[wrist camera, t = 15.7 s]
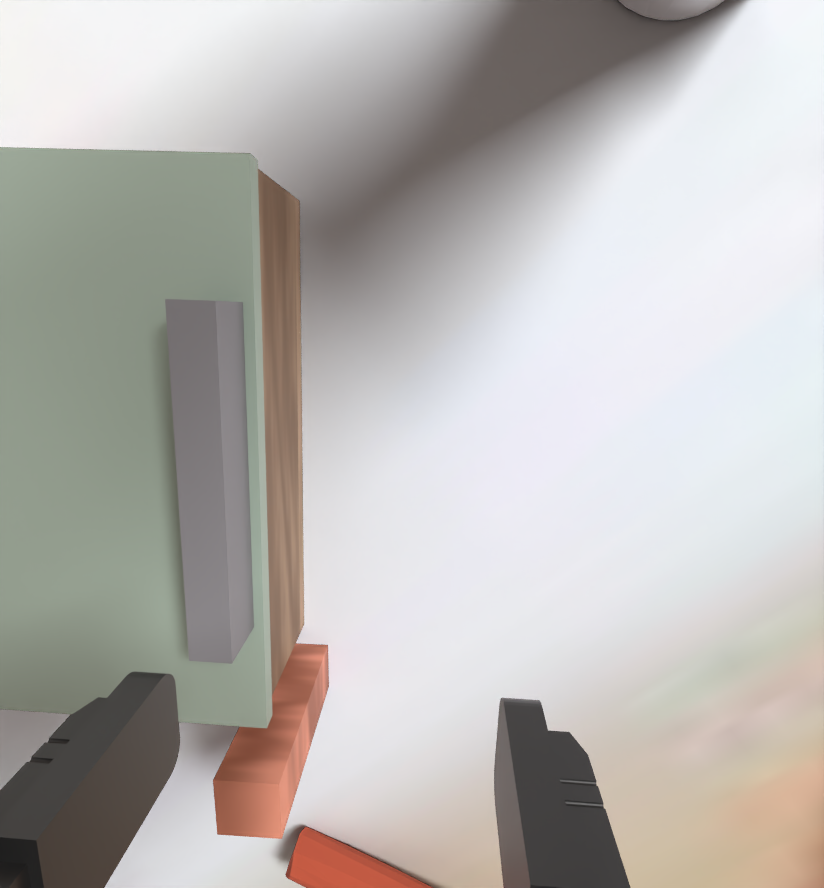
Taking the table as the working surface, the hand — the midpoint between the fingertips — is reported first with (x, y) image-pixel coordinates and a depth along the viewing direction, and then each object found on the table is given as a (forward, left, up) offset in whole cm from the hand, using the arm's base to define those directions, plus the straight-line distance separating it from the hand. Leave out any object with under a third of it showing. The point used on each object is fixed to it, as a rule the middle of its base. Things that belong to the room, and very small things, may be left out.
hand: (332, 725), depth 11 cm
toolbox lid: (+17, 0, -17) cm, 24 cm away
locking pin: (+7, +17, -26) cm, 32 cm away
